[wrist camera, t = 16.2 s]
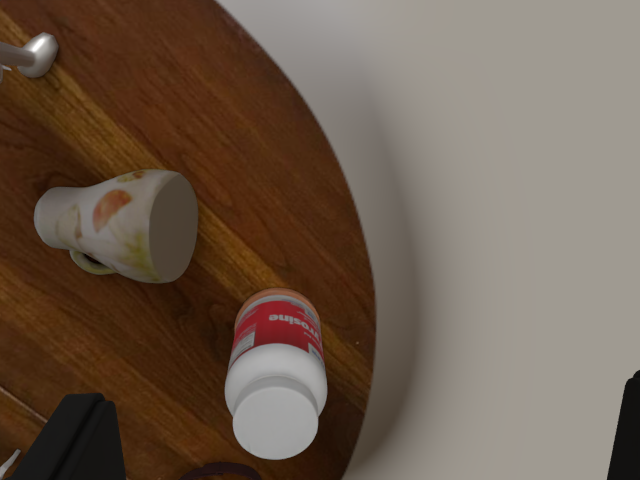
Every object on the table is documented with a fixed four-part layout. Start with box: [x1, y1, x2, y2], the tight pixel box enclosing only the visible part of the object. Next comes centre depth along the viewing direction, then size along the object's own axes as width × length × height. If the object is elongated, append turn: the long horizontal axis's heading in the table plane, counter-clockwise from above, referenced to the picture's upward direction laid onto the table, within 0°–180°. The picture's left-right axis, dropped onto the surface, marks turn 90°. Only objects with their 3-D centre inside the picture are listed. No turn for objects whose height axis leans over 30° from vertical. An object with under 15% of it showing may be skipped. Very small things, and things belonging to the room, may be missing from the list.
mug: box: [34, 169, 198, 283], centre depth 34 cm, size 8×10×10 cm
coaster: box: [234, 288, 321, 332], centre depth 40 cm, size 6×6×1 cm
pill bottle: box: [225, 295, 327, 459], centre depth 34 cm, size 6×6×11 cm
